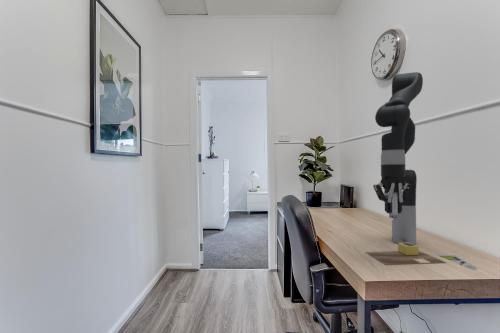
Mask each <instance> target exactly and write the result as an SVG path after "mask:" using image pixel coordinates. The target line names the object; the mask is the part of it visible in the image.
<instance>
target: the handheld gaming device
mask: <svg viewBox="0 0 500 333" xmlns="http://www.w3.org/2000/svg"><path fill="white" fill-rule="evenodd" d="M434 255H436V256H437V257H440V258H442V259H445V260H448V261H450V262H453V263H455V264H458V265H460V266H463V267H465V268H467V269H470V270H478V267H476V266H475V265H473V264H471V263H469V262H468V261H466V260H464V259H463V258H461V257H459V256H457V255H455V254H439V253H437V254H436V253H435V254H434Z"/></svg>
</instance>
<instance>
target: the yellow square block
mask: <svg viewBox="0 0 500 333" xmlns="http://www.w3.org/2000/svg"><path fill="white" fill-rule="evenodd" d="M397 251H399V252H401V253H403V254H405V255H418V251H419V246H418V245H417V244H415V245H414V244H411V243H397Z"/></svg>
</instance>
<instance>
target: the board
mask: <svg viewBox="0 0 500 333" xmlns="http://www.w3.org/2000/svg"><path fill="white" fill-rule="evenodd" d="M364 253H365V254H366V255H368V256H369V257H371V258H373V259H375V260H376V261H378V262H379V263H381V264H383V265H385V266H398V265H399V266H402V265H405V266H406V265H429V264H436V265H437V264H447V262H446V261H444V260H441V259H439V258H437V257H434V256H432V255H430V254H427V253H425V252H423V251H420V250H418V255H405V254H403V253H401V252H399V251H398V250H397V251H396V250H395V251H394V250H393V251H392V250H391V251H364ZM418 260H425V261H428V262H419V261H418Z"/></svg>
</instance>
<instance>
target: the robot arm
mask: <svg viewBox="0 0 500 333" xmlns="http://www.w3.org/2000/svg"><path fill="white" fill-rule="evenodd" d="M423 80H424V78H423V75H422V73H420V72H418V71H417V72H407V73H406V72H405V73H399V74H395V75H394V76H393V77H392V81H391V97H390V98H389V100H388V101H387V102H385V103H384V104H383V105H381V106H380V107H379V108H378V109H377V110H376V112H375V115H374V118H375V123H376V124H377V125H378V126H379V127H381V128H388V127H389V128H390V127H391V129H390V130H391V132H388V133H385V134H382V136H381V154H380V176H381V180H379V181H380V182H379V183H377V184H373V185H372V186H373V190H374V191H375V194H376V196H377V198H378V200H379V201H382V202H384V212H385V213H386V214H388V215H389V214H391V213H392V203H390V202H391V198H392V196H393V192H398V218H392V219H391V240H392V242H393V243H395V244H398V243H411V244H414V245H417V204H416V203H417V180H418V179H417V174H416V172H415V170H414V169H406V154H407V153H408V151H410V149H411V148H412V146H413V145H414V143H415V141H416V125H415V123H414V120H412V118H411V110H410V108H409V107H410V104H411V103H412V101H414V99H415V98H417V97H418V95H420V93H421V92H422V89H423V85H424V82H423Z"/></svg>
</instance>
